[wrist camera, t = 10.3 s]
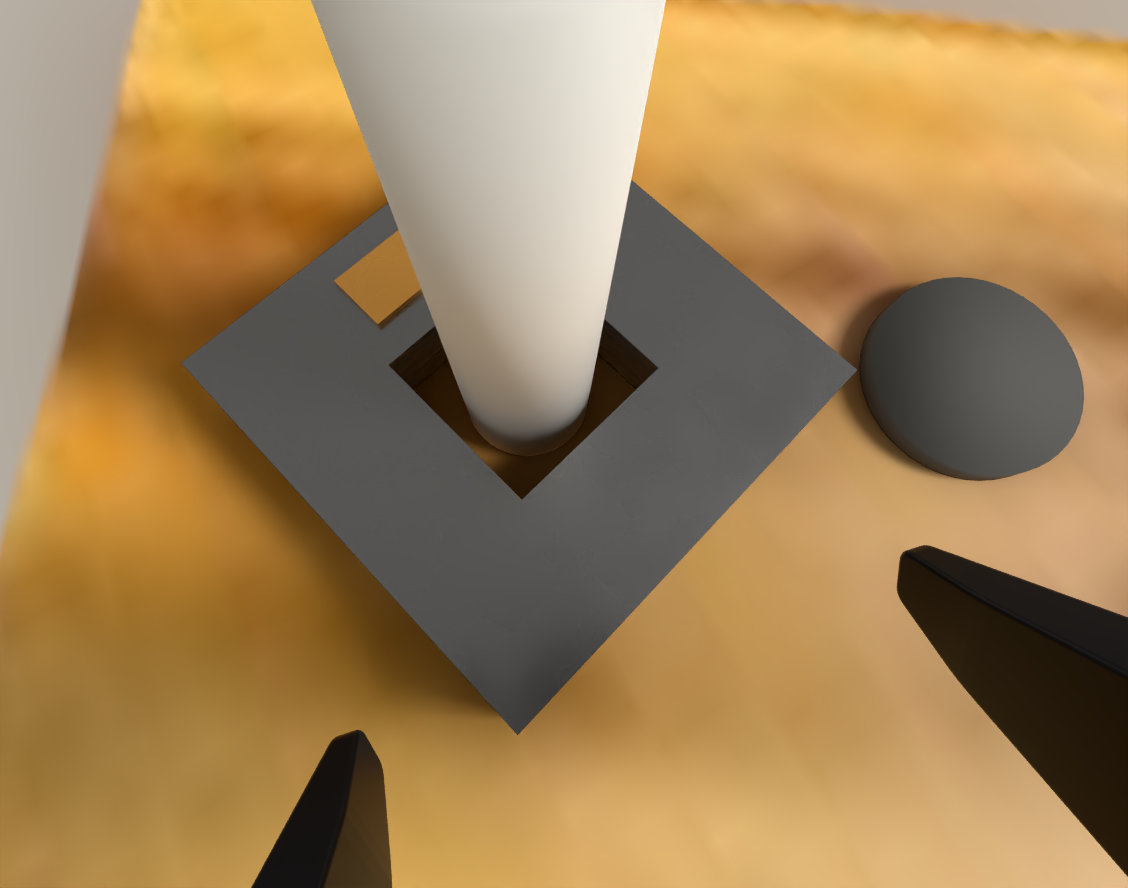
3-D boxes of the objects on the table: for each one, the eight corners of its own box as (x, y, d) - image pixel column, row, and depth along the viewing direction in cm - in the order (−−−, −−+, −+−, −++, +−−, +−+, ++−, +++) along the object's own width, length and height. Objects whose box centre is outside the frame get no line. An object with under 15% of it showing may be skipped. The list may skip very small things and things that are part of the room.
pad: (988, 524, 20) (1007, 521, 19) (818, 379, 21) (829, 370, 20) (1102, 381, 21) (1123, 372, 20) (937, 253, 22) (951, 240, 22)
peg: (564, 473, 20) (612, 77, 5) (448, 432, 20) (192, -51, 6) (603, 364, 21) (734, -212, 6) (493, 327, 21) (376, -309, 7)
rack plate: (521, 718, 18) (517, 736, 15) (224, 393, 20) (177, 360, 17) (820, 398, 21) (860, 367, 18) (531, 148, 23) (529, 88, 20)
